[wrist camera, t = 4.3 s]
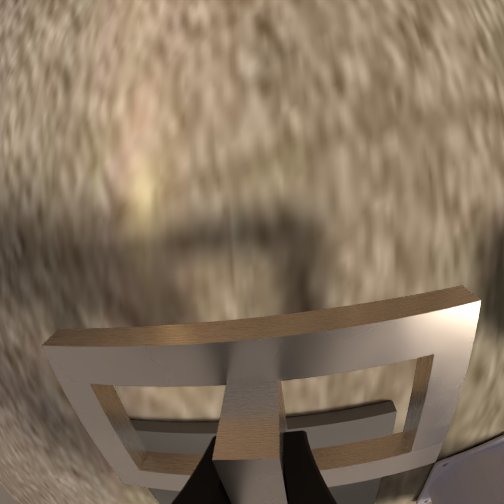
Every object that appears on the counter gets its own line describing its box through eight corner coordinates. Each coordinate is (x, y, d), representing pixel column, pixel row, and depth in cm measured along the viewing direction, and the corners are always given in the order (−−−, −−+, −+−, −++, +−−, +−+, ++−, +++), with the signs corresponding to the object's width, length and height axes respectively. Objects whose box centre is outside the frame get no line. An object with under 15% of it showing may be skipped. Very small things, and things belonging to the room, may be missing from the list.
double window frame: (462, 285, 9) (535, 348, 5) (427, 443, 11) (454, 509, 7) (58, 329, 10) (-5, 392, 6) (130, 466, 12) (106, 528, 9)
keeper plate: (392, 400, 17) (408, 438, 14) (370, 502, 21) (376, 530, 18) (114, 418, 18) (96, 451, 15) (174, 512, 22) (168, 538, 19)
